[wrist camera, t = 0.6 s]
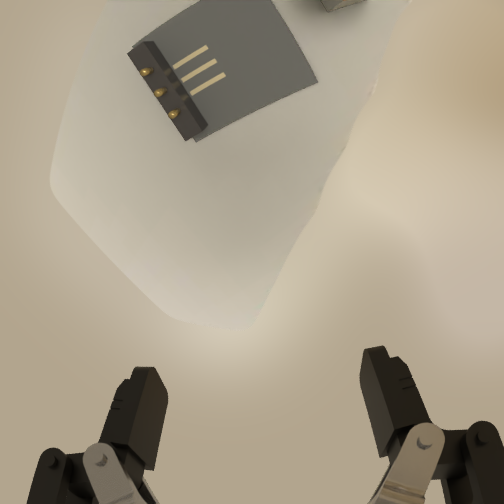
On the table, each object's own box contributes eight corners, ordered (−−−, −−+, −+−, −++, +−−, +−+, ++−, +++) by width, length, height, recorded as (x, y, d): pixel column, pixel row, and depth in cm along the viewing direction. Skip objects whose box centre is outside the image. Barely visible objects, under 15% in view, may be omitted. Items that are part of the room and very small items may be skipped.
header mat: (133, 46, 25) (132, 46, 24) (253, -26, 20) (252, -27, 19) (196, 141, 31) (195, 142, 31) (317, 81, 26) (318, 82, 26)
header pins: (145, 69, 24) (138, 71, 22) (151, 65, 23) (144, 67, 22) (176, 116, 27) (170, 120, 25) (182, 112, 26) (177, 116, 25)
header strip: (138, 52, 25) (127, 53, 23) (153, 41, 24) (142, 41, 22) (192, 133, 30) (185, 141, 28) (208, 124, 30) (202, 131, 27)
